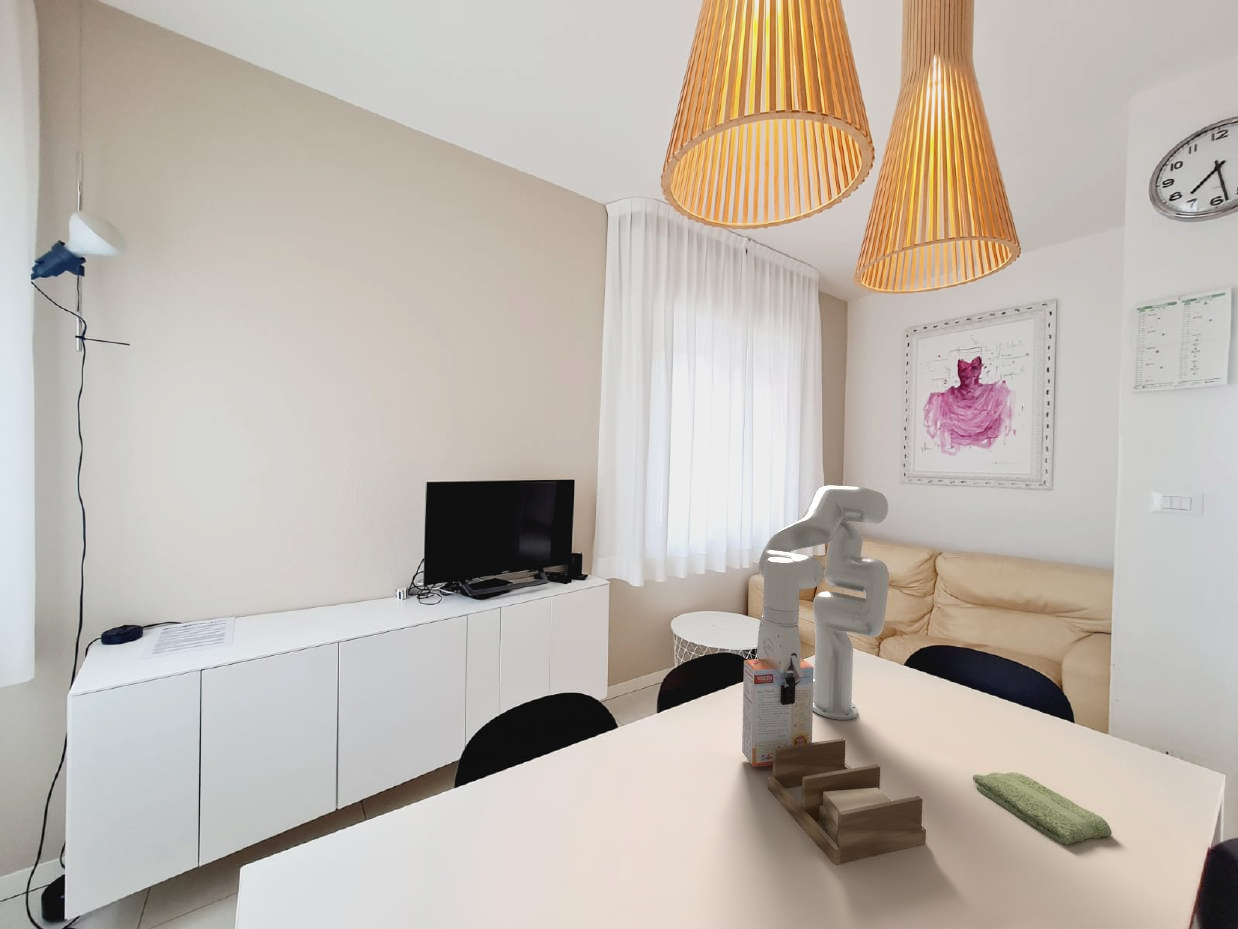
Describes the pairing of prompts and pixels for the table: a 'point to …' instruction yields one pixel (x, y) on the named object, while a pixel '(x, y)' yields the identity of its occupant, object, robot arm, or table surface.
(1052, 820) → the washcloth
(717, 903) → the table surface
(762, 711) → the cracker box
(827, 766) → the rack
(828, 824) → the wooden block
